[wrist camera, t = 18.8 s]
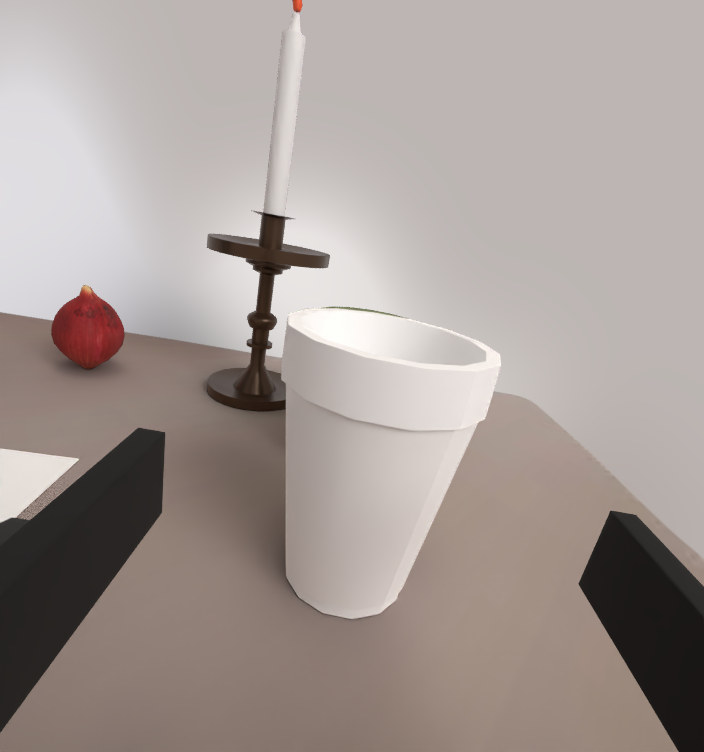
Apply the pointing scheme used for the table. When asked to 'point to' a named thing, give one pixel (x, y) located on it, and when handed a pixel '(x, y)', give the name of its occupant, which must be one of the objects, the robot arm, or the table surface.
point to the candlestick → (269, 242)
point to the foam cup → (371, 447)
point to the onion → (87, 330)
